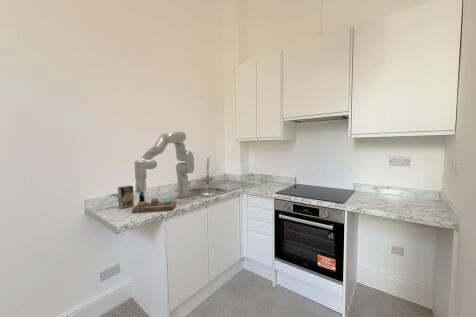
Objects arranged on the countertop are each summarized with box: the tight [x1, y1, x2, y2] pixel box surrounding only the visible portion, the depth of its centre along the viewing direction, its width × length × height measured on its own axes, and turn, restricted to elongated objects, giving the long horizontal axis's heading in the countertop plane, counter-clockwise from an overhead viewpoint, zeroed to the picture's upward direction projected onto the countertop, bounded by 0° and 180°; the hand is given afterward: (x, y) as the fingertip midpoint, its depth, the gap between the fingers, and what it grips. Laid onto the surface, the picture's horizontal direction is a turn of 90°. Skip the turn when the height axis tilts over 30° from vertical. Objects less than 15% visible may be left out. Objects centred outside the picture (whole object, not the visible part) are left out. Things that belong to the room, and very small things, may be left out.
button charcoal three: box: [150, 197, 159, 204], centre depth 156 cm, size 5×5×3 cm
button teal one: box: [163, 198, 172, 205], centre depth 157 cm, size 5×5×3 cm
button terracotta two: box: [138, 200, 147, 206], centre depth 155 cm, size 5×5×3 cm
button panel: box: [131, 200, 177, 214], centre depth 156 cm, size 14×28×3 cm, turn 98°
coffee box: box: [117, 185, 135, 210], centre depth 162 cm, size 9×6×16 cm
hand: (142, 201), depth 155 cm, fingers closed
